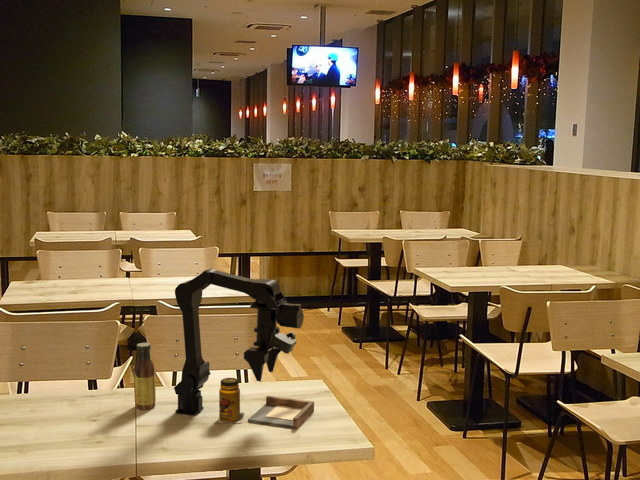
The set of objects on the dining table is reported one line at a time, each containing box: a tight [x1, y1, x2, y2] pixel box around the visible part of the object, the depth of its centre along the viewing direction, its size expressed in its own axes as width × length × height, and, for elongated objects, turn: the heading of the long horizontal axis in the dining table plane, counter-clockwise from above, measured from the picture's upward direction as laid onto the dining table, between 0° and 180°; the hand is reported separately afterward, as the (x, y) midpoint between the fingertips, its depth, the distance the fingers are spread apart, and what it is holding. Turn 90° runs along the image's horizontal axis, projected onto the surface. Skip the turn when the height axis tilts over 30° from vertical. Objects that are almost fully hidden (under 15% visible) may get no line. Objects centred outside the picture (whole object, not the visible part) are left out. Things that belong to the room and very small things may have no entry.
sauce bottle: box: [133, 342, 157, 410], centre depth 240 cm, size 7×6×20 cm
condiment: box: [215, 377, 246, 424], centre depth 233 cm, size 7×8×12 cm
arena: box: [247, 395, 315, 430], centre depth 236 cm, size 15×15×3 cm
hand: (265, 376), depth 230 cm, fingers open, 9 cm apart
